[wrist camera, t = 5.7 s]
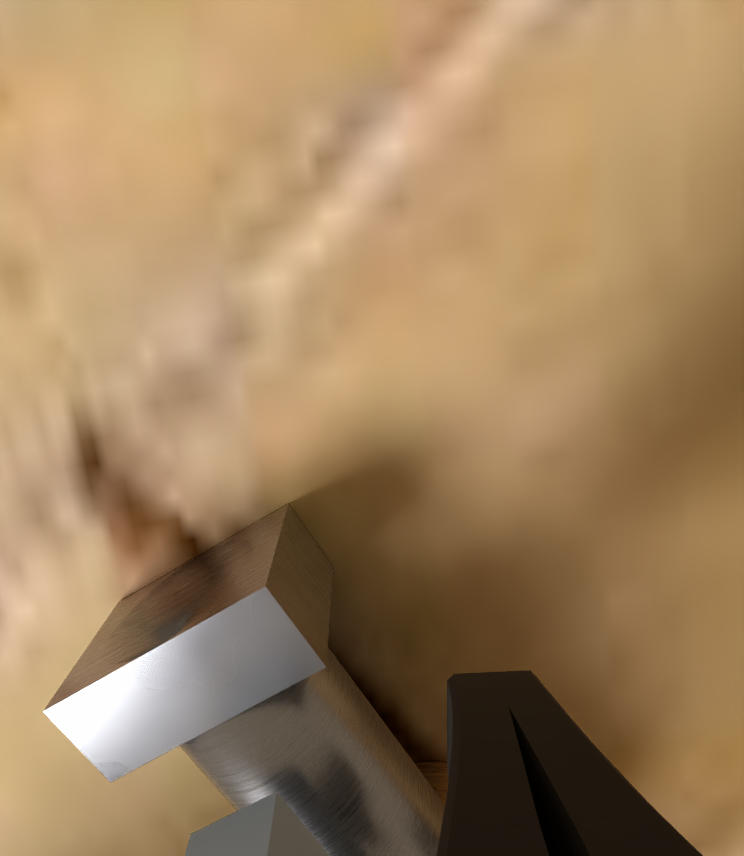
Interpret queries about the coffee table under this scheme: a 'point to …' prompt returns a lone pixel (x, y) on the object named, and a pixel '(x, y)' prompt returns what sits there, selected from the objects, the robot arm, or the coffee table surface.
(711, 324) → the coffee table surface
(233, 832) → the lever
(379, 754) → the valve body
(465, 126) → the coffee table surface
